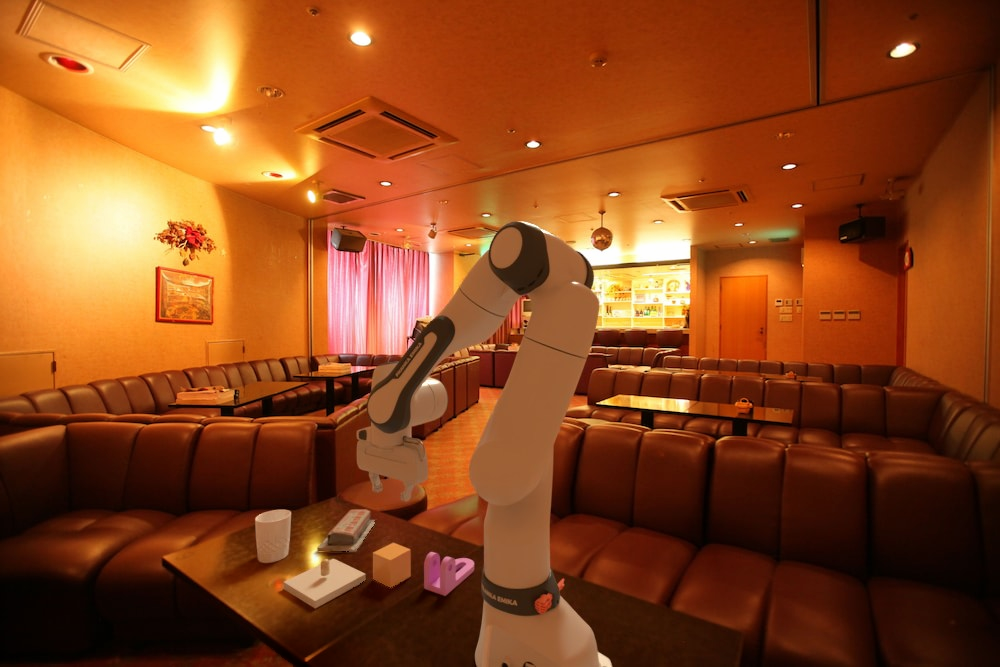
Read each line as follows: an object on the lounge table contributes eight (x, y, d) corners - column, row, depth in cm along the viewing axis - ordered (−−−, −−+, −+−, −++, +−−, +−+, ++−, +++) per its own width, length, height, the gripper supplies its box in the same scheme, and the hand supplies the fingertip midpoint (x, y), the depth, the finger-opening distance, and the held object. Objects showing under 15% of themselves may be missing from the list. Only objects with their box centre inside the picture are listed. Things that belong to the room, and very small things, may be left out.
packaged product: (343, 507, 126) (377, 507, 126) (343, 524, 126) (377, 523, 126) (316, 534, 108) (356, 534, 108) (316, 554, 108) (356, 554, 108)
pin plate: (365, 580, 95) (365, 555, 95) (315, 608, 85) (315, 580, 85) (333, 564, 102) (333, 541, 102) (283, 588, 92) (283, 562, 92)
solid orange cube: (410, 576, 97) (410, 549, 97) (390, 588, 92) (390, 560, 92) (393, 568, 100) (393, 542, 100) (372, 580, 95) (372, 552, 95)
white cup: (266, 567, 101) (266, 525, 101) (248, 559, 105) (248, 518, 105) (297, 553, 108) (297, 513, 108) (279, 546, 112) (279, 507, 112)
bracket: (445, 596, 89) (445, 562, 89) (424, 589, 92) (424, 556, 92) (478, 567, 101) (478, 537, 101) (459, 561, 103) (458, 532, 103)
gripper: (435, 437, 93) (435, 501, 93) (374, 426, 105) (373, 483, 105) (413, 442, 88) (413, 510, 88) (351, 430, 100) (351, 490, 100)
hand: (391, 495), depth 96 cm, fingers open, 8 cm apart
